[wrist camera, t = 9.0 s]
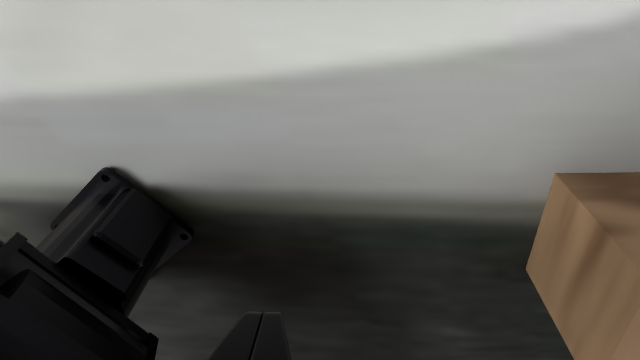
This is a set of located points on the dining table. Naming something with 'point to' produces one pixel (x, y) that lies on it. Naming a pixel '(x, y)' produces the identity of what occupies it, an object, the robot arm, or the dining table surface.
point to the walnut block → (591, 263)
